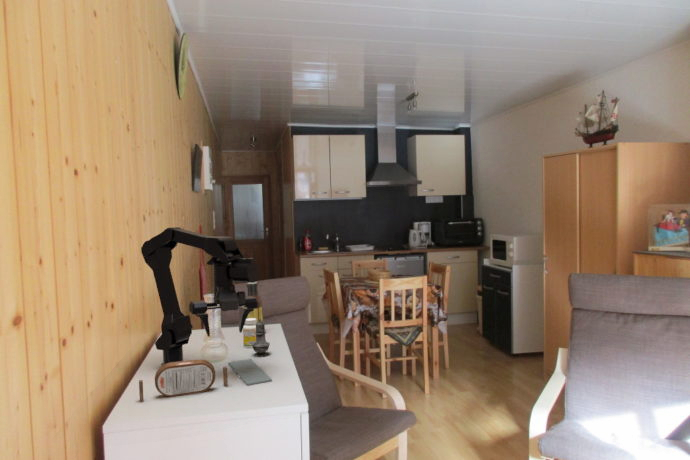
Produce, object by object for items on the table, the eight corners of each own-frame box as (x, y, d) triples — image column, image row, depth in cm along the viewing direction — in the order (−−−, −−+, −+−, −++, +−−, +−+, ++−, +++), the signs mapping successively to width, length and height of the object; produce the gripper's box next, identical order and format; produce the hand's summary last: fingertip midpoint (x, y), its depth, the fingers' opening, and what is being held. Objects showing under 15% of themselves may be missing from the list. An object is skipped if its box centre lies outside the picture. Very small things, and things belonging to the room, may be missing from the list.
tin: (215, 387, 131) (214, 356, 131) (216, 391, 128) (215, 359, 128) (155, 395, 126) (154, 363, 126) (154, 400, 123) (153, 367, 123)
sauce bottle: (258, 331, 193) (256, 280, 192) (266, 333, 188) (264, 282, 188) (243, 334, 189) (241, 282, 188) (251, 336, 184) (249, 284, 183)
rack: (139, 400, 123) (138, 380, 123) (226, 384, 133) (225, 366, 133) (140, 402, 122) (139, 382, 122) (227, 386, 132) (227, 367, 131)
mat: (228, 363, 151) (228, 362, 151) (250, 360, 154) (250, 358, 154) (246, 385, 132) (246, 383, 132) (272, 381, 135) (272, 379, 135)
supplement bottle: (251, 349, 167) (250, 321, 167) (240, 347, 170) (239, 319, 170) (262, 345, 171) (261, 318, 171) (251, 343, 175) (250, 316, 174)
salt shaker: (257, 358, 156) (256, 321, 155) (248, 355, 160) (247, 318, 160) (273, 355, 160) (272, 318, 159) (264, 351, 164) (263, 315, 164)
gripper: (195, 287, 130) (196, 345, 130) (263, 282, 138) (264, 336, 139) (188, 281, 139) (189, 335, 140) (252, 277, 148) (253, 328, 149)
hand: (224, 334), depth 142 cm, fingers open, 9 cm apart
